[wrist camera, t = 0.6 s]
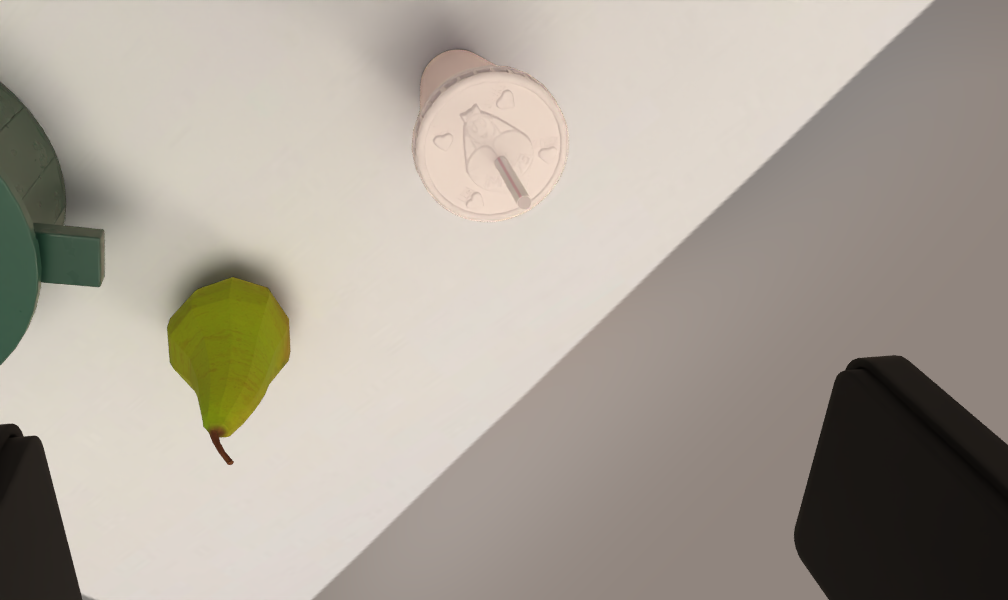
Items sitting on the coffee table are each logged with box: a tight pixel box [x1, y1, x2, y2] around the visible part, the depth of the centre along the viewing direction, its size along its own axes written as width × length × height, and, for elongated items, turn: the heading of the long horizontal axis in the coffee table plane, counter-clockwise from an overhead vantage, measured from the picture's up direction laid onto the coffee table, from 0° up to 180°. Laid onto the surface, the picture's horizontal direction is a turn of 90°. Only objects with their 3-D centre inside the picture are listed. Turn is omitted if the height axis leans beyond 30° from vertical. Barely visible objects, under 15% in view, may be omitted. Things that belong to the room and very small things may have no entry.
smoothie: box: [412, 49, 569, 222], centre depth 36 cm, size 6×6×14 cm
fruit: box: [167, 277, 290, 465], centre depth 41 cm, size 6×6×12 cm
